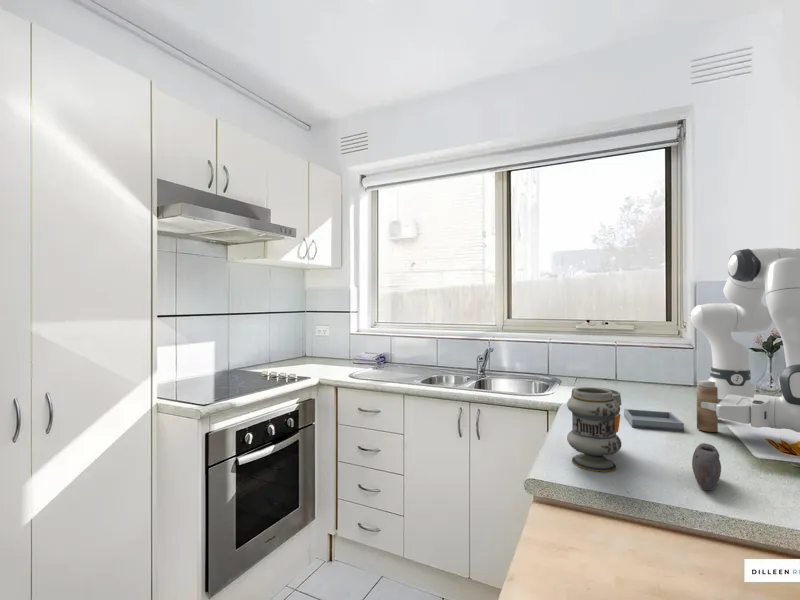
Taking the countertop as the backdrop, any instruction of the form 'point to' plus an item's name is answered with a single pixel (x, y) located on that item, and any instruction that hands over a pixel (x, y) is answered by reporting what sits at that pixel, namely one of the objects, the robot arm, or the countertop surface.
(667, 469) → the countertop surface
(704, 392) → the pepper mill
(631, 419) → the tray
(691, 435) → the countertop surface
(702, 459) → the perforated stone tool
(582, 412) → the apothecary jar
